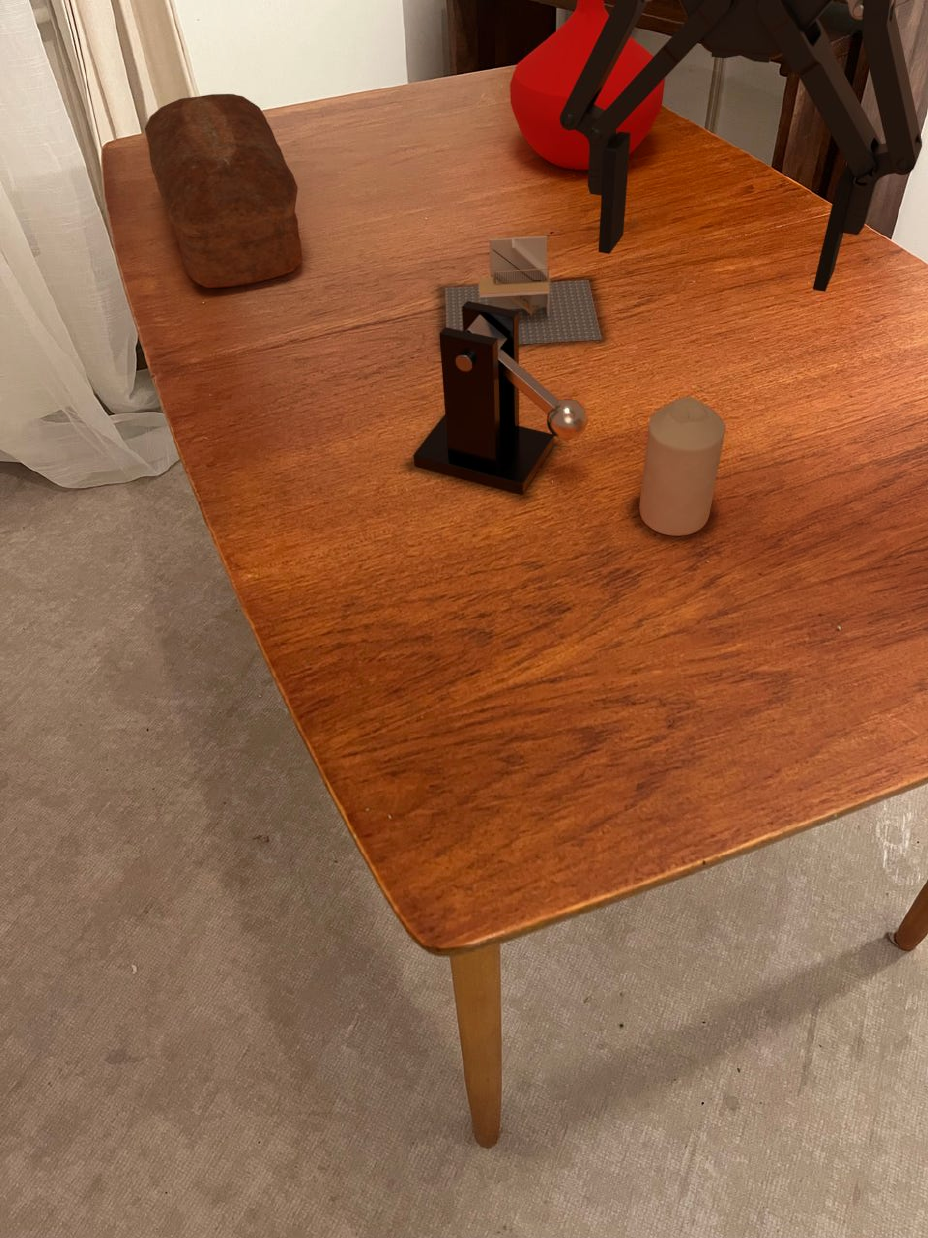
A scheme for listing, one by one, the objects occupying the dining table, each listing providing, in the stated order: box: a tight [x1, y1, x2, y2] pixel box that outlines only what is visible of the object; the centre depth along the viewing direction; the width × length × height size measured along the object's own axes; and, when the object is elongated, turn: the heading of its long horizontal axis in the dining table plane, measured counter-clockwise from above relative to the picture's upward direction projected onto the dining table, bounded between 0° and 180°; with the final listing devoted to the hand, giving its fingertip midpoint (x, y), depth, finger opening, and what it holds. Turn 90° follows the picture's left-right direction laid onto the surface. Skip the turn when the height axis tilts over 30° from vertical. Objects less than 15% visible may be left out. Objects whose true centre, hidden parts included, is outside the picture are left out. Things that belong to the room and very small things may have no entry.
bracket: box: [412, 301, 555, 495], centre depth 79 cm, size 10×7×13 cm
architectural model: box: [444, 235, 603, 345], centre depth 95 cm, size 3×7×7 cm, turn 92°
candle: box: [638, 396, 726, 537], centre depth 74 cm, size 6×6×10 cm
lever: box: [466, 315, 588, 441], centre depth 76 cm, size 12×3×3 cm
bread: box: [144, 93, 303, 289], centre depth 108 cm, size 14×28×12 cm, turn 18°
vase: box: [509, 0, 666, 171], centre depth 116 cm, size 18×18×19 cm
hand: (713, 261), depth 62 cm, fingers open, 13 cm apart
